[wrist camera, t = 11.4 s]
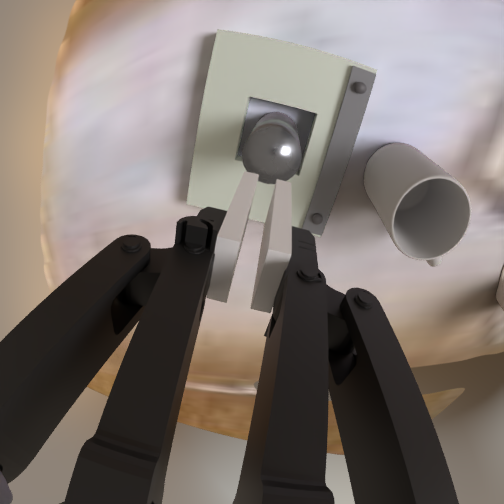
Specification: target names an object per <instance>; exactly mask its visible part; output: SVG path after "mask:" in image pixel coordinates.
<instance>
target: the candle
mask: <svg viewBox="0 0 504 504" xmlns="http://www.w3.org/2000/svg"><path fill="white" fill-rule="evenodd" d="M496 299H497V301H498V303H499V304H500V306H501V307H502V309H503V311H504V267H503V270H502V273H501V277H500V281H499V286H498V289H497V292H496Z"/></svg>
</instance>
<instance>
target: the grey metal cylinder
mask: <svg viewBox="0 0 504 504" xmlns="http://www.w3.org/2000/svg"><path fill="white" fill-rule="evenodd" d="M242 162H243V165H244V167H245V169H246V171H247V172H250V173H255V174H259V177H258V181H259V182H262V183H265V184H276V180H277V179H279V180H283V181H287V180H289V179H290V178H292V177H293V176H294V175H295V174H296V172H297V171H298V169H299V167H300V164H301V148H300V142H299V136H298V130H297V126H296V124H295V122H294V121H293V120H292V118H290V117H289V116H288V115H286V114H284V113H280V112H272V113H268V114H266V115H264V116H263V117H262V118H260V120H259V121H258V122H257V124H256V126H255V127H254V129H253V130H252V132H251V134H250V135H249V137H248V139H247V140H246V142H245V144H244V146H243V149H242Z"/></svg>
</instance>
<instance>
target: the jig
mask: <svg viewBox="0 0 504 504" xmlns="http://www.w3.org/2000/svg"><path fill="white" fill-rule="evenodd" d="M376 72H377V70H376V69H373V68H371V67H368V66H365V65H363V64H360V63H357V62H354V61H351V60H348V59H345V58H342V57H339V56H336V55H333V54H330V53H327V52H323V51H320V50H316V49H313V48H309V47H306V46H302V45H298V44H294V43H290V42H286V41H281V40H277V39H272V38H267V37H262V36H257V35H251V34H245V33H239V32H233V31H225V30H217V34H216V38H215V43H214V47H213V52H212V56H211V61H210V66H209V70H208V75H207V80H206V85H205V90H204V95H203V101H202V106H201V112H200V117H199V123H198V129H197V135H196V141H195V147H194V154H193V160H192V167H191V174H190V181H189V188H188V196H187V205H191V206H196V207H200V208H206V207H213V208H217V209H221V210H226V211H228V209H229V206H230V204H231V202H232V199H233V197H234V194H235V192H236V190H237V187H238V185H239V183H240V180H241V178H242V176H243V173H244V171H246V169H245V167H244V165H243V162H242V156H240V155H238V151H239V146H240V141H241V137H242V132H243V128H244V123H245V119H246V114H247V110H248V105H249V101H250V97H254V98H258V99H263V100H267V101H271V102H276V103H280V104H284V105H288V106H291V107H295V108H299V109H303V110H306V111H310V112H313V113H315V116H314V120H313V123H312V127H311V130H310V134H309V137H308V141H307V144H306V147H305V151H304V154H303V158H302V161H301V164H300V168H299V170H298V171H297V172H296V174H295V175H294V176H293V177H292V178H290V179H289V180H287V181H286V182H290V183H291V202H292V226H294V227H298V228H301V229H305V230H309V231H310V232H311V233H312V235H314V236H317V237H321V236H322V233H323V231H324V228H325V225H326V223H327V220H328V217H329V215H330V212H331V209H332V207H333V204H334V201H335V199H336V196H337V193H338V190H339V187H340V185H341V182H342V179H343V176H344V173H345V170H346V168H347V165H348V162H349V159H350V156H351V153H352V150H353V147H354V144H355V141H356V138H357V135H358V132H359V129H360V126H361V123H362V119H363V116H364V113H365V110H366V107H367V103H368V100H369V97H370V94H371V90H372V87H373V83H374V80H375V77H376ZM246 172H247V171H246ZM274 187H275V184H265V183H262V182H259V181H257V185H256V189H255V193H254V197H253V201H252V206H251V210H250V214H249V218H248V219H250V220H254V221H258V222H263V223H265V220H266V217H267V213H268V209H269V206H270V202H271V198H272V195H273V191H274Z"/></svg>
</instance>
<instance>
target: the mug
mask: <svg viewBox="0 0 504 504" xmlns="http://www.w3.org/2000/svg"><path fill="white" fill-rule="evenodd" d="M364 186H365V190H366V193H367V195H368V197H369V199H370V200H371V202H372V203H373V205H374V207H375V208H376V210H377V212H378V214H379V216H380V218H381V220H382V221H383V223H384V225H385V227H386V229H387V231H388V233H389V235H390V237H391V239H392V240H393V242H394V244H395V246H396V247H397V248H398V249H399V250H400V251H401V252H402V253H403V254H405V255H406V256H408V257H410V258H413V259H416V260H426V261H427V262H428V264H429V265H431V266H432V267H435V266H438V265H440V263H441V261H442V256H443V255H445V254H447V253H448V252H450V251H451V250H452V249H453V248H455V247H456V246H457V245H458V243H459V242H460V241H461V240H462V238H463V237H464V235H465V233H466V231H467V229H468V226H469V223H470V219H471V203H470V199H469V196H468V194H467V192H466V190H465V188H464V187H463V186H462V185H461V183H459V182H458V181H457V180H456V179H455V178H454V177H453V176H451V175H450V174H449V173H448V172H446V171H445V170H444V169H443V168H441V167H440V166H439V165H437V164H436V163H435V162H433V161H432V160H431V159H429V158H428V157H427V156H426V155H424V154H423V153H422V152H421V151H419V150H418V149H416V148H415V147H413V146H411V145H408V144H404V143H392V144H388V145H385V146H383V147H381V148H380V149H378V150H377V151H376V152H375V153H374V154H373V155H372V156H371V158H370V159H369V161H368V163H367V165H366V168H365V171H364Z"/></svg>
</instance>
